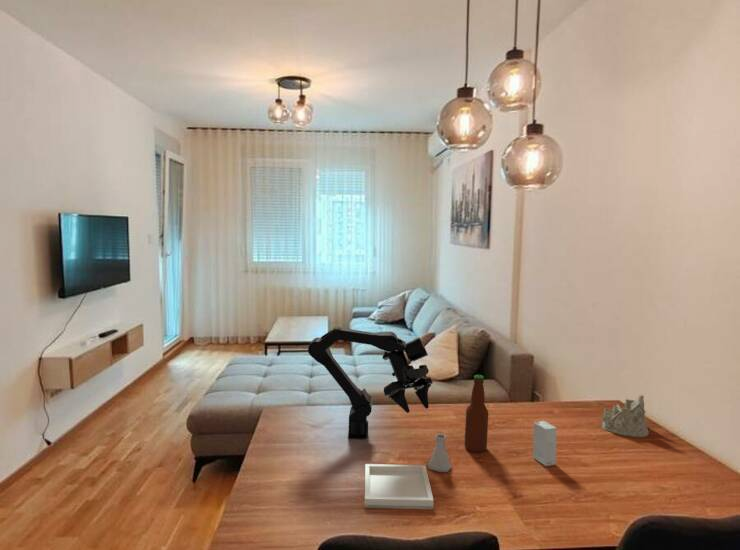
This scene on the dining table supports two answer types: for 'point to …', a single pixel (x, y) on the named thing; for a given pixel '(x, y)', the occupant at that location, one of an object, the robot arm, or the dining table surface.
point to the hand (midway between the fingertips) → (418, 410)
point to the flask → (440, 456)
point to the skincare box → (544, 443)
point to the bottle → (476, 418)
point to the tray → (397, 487)
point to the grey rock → (626, 419)
